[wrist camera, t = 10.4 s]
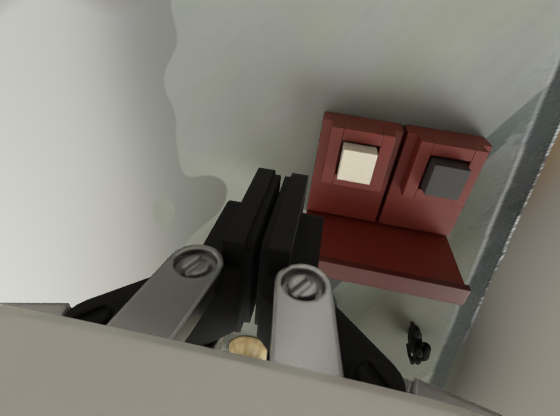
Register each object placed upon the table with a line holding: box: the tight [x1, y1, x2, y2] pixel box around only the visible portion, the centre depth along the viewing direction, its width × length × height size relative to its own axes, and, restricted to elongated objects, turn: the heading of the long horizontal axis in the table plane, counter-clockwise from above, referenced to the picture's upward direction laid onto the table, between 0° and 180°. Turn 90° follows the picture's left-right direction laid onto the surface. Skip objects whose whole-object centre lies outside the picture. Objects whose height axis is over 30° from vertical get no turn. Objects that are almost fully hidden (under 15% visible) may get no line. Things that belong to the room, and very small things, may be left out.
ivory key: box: [337, 142, 378, 185], centre depth 33 cm, size 3×3×2 cm
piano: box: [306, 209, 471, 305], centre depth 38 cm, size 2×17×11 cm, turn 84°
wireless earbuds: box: [406, 322, 431, 365], centre depth 49 cm, size 7×2×5 cm, turn 4°
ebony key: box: [421, 157, 471, 200], centre depth 33 cm, size 3×3×2 cm
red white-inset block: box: [307, 112, 404, 222], centre depth 37 cm, size 11×8×4 cm
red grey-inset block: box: [378, 125, 492, 236], centre depth 36 cm, size 11×8×4 cm
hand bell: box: [229, 336, 267, 360], centre depth 55 cm, size 8×8×16 cm
